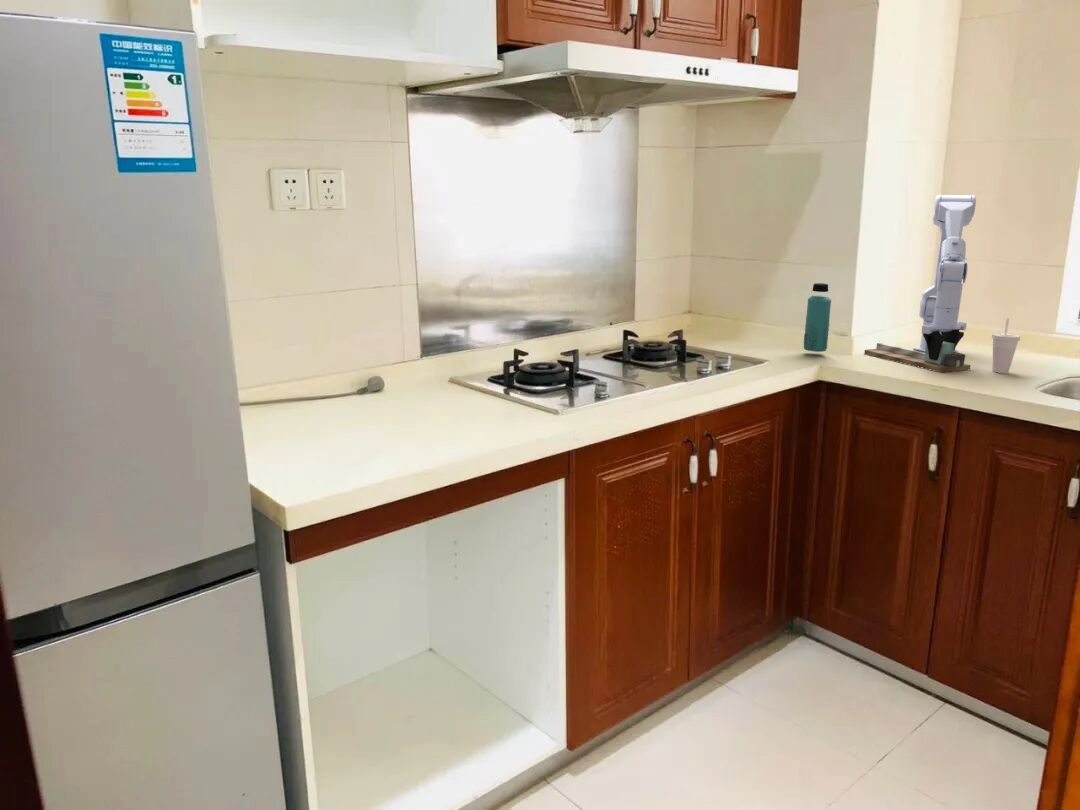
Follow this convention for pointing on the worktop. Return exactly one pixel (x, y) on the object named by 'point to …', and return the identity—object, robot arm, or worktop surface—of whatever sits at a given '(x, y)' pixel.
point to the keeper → (945, 349)
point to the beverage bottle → (817, 320)
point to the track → (918, 358)
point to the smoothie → (1003, 350)
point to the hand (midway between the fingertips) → (939, 358)
